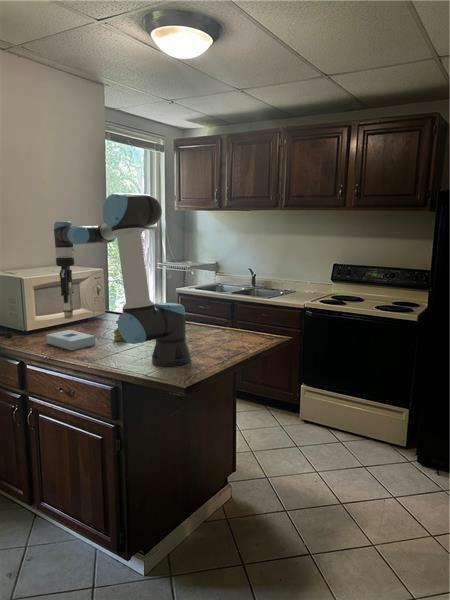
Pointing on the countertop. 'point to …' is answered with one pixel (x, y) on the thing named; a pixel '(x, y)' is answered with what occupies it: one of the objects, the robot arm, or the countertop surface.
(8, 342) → the countertop surface
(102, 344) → the countertop surface
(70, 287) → the beech peg
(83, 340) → the slate board
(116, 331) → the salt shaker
